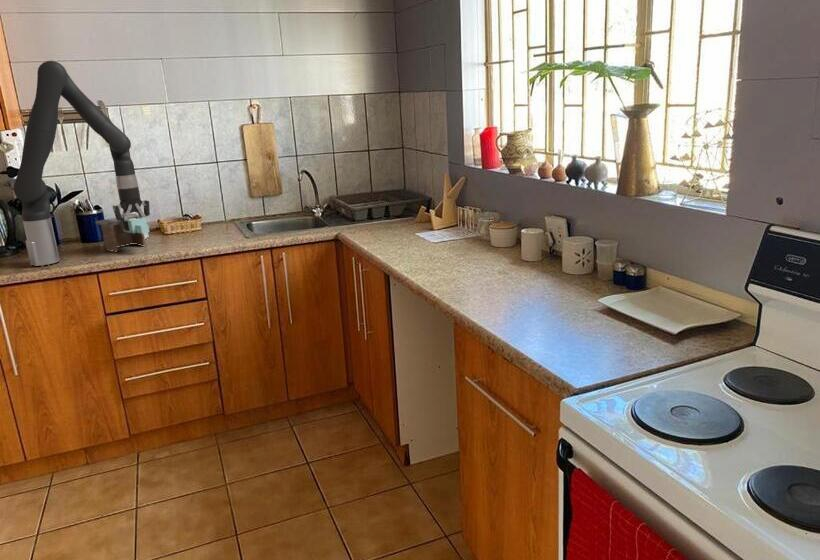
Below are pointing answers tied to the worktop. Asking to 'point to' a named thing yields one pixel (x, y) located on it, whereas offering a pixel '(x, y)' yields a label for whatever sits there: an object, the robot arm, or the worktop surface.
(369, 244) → the worktop surface
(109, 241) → the shelf
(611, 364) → the worktop surface
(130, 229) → the caddy
